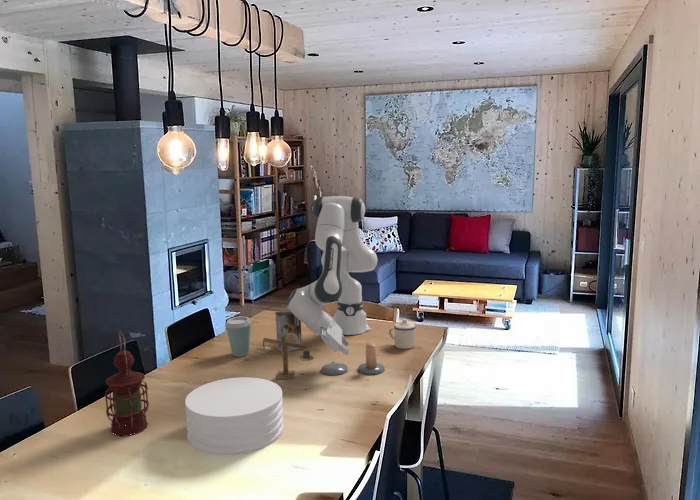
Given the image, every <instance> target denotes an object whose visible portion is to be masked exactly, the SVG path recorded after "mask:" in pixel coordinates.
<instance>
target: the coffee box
mask: <svg viewBox="0 0 700 500" xmlns="http://www.w3.org/2000/svg"><path fill="white" fill-rule="evenodd" d="M275 325H276V327H275V328H276V340H279V341H284V342H290V343H295V344H300V345H303V344H302V343H303V342H302V341H303V340H302V321H300V320H299V319H298V318H297V317H296V316H295V315H294V314H293V313H292V312H291V311H290V310H289V309H288V310H282V311H277V312H275ZM276 346H277V350H279V351H280V352H281V353H283V346H282V345H280V344H276ZM287 349H288V352H291V351H297V350H302V348H296V347H291V346H287Z"/></svg>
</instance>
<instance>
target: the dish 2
mask: <svg viewBox="0 0 700 500" xmlns="http://www.w3.org/2000/svg"><path fill="white" fill-rule="evenodd" d="M385 370H386V367H385V365H383V364H382V363H379V362H377V368H375V369H368V368H366V362H365V363H362V364H359V365H358V369H357V371H358V372H359V373H361V374H363V375H372V376H373V375H374V376H375V375H380V374H382V373H384V372H385Z"/></svg>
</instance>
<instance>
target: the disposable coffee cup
mask: <svg viewBox="0 0 700 500" xmlns="http://www.w3.org/2000/svg"><path fill="white" fill-rule="evenodd" d="M224 324H225V327H226V332H227V336H228V340H229V345H230V350H231V354H232V356H234V357H238V358H239V357H240V358H241V357H245V356H248V354H249V352H250V344H251V343H250V341H251V339H250V338H251V332H252V331H251V329H252V324H253V323H252V320H251V319H250V318H249V316H241V315H240V316H235V317H232V318H230V319H227V321H226V323H224Z"/></svg>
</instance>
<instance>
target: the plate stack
mask: <svg viewBox="0 0 700 500" xmlns="http://www.w3.org/2000/svg"><path fill="white" fill-rule="evenodd" d="M283 401H284V399H283V390H282V388H281V386H280V385H278V384H277V383H276V382H275V381H271V380H268V379H265V378H259V377H247V376H246V377H244V376H243V377H231V378H230V377H229V378H222V379H219V380H214V381H211V382H208V383H205V384H202V385H200V386H199V387H196V388H195V389H193V390H191V392H190V393H188V394H187V396H186V397H185V400H184V405H185V406H184V407H185V417H186V418H185V422H186V432H187V433H186V434H187V435H186V437H187V439H186V440H187V443H188V444H189V445H190V447H192V448H193V449H194V450H196V451H198V452H200V453H203V454H206V455H212V456H238V455H243V454H249V453H254V452H256V451H259V450H262V449H264V448H266V447H268V446H271V444H273V443H275V442H277V440H278V439H280V437H281V436H282V435H283V432H284V426H285V425H284V407H283V405H284V404H283V403H284V402H283Z"/></svg>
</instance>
